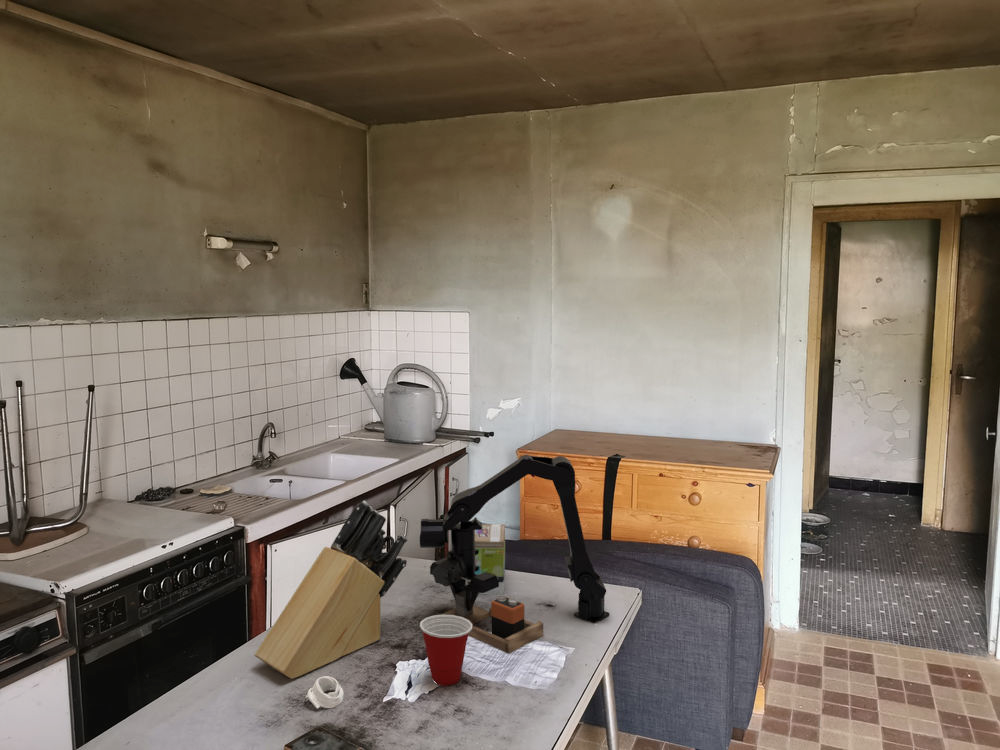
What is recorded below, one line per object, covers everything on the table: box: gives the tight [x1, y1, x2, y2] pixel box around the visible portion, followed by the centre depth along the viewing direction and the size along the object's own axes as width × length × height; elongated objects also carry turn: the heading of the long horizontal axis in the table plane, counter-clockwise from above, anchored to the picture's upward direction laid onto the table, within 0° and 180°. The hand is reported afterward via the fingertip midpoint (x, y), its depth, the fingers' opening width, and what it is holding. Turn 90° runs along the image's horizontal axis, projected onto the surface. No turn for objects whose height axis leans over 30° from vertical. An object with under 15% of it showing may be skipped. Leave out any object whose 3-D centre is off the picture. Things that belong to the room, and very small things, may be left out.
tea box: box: [466, 523, 506, 595], centre depth 205 cm, size 15×10×15 cm
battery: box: [490, 595, 525, 639], centre depth 172 cm, size 4×7×10 cm, turn 46°
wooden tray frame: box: [440, 591, 544, 654], centre depth 178 cm, size 12×24×6 cm, turn 46°
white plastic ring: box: [303, 675, 344, 709], centre depth 148 cm, size 8×7×5 cm
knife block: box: [254, 499, 408, 679], centre depth 169 cm, size 11×35×31 cm, turn 139°
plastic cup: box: [419, 614, 473, 687], centre depth 156 cm, size 11×11×12 cm
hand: (464, 608), depth 184 cm, fingers closed on wooden tray frame, 3 cm apart
